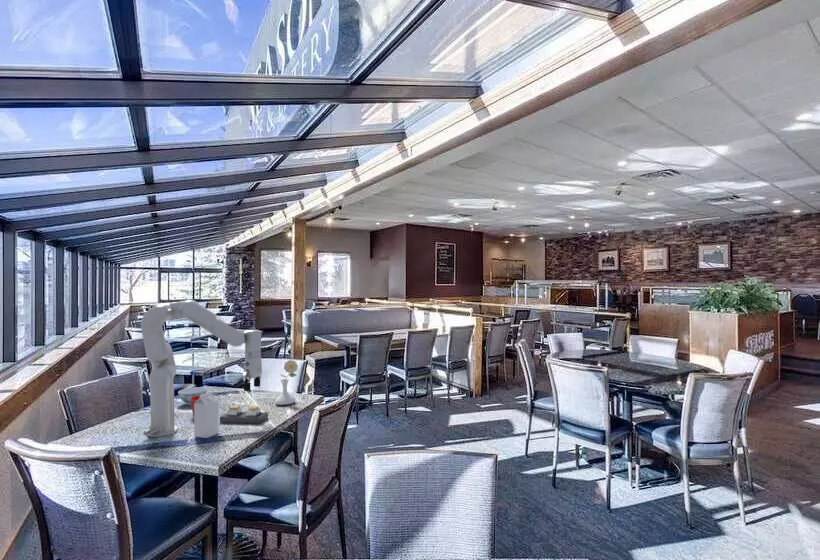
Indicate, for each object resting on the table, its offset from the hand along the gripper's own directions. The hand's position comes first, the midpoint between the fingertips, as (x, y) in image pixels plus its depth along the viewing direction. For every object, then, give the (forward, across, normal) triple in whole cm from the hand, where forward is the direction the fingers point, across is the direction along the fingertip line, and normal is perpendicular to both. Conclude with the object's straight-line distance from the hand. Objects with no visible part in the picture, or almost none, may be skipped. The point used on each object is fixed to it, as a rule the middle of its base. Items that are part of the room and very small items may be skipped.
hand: (252, 388), depth 211 cm
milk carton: (+17, -20, +11) cm, 29 cm away
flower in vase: (+16, +32, -4) cm, 36 cm away
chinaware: (+18, +28, +52) cm, 61 cm away
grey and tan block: (+16, 0, -1) cm, 16 cm away
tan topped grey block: (+17, +1, +9) cm, 19 cm away
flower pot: (+17, +7, +32) cm, 37 cm away
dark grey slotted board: (+16, +1, +4) cm, 17 cm away
